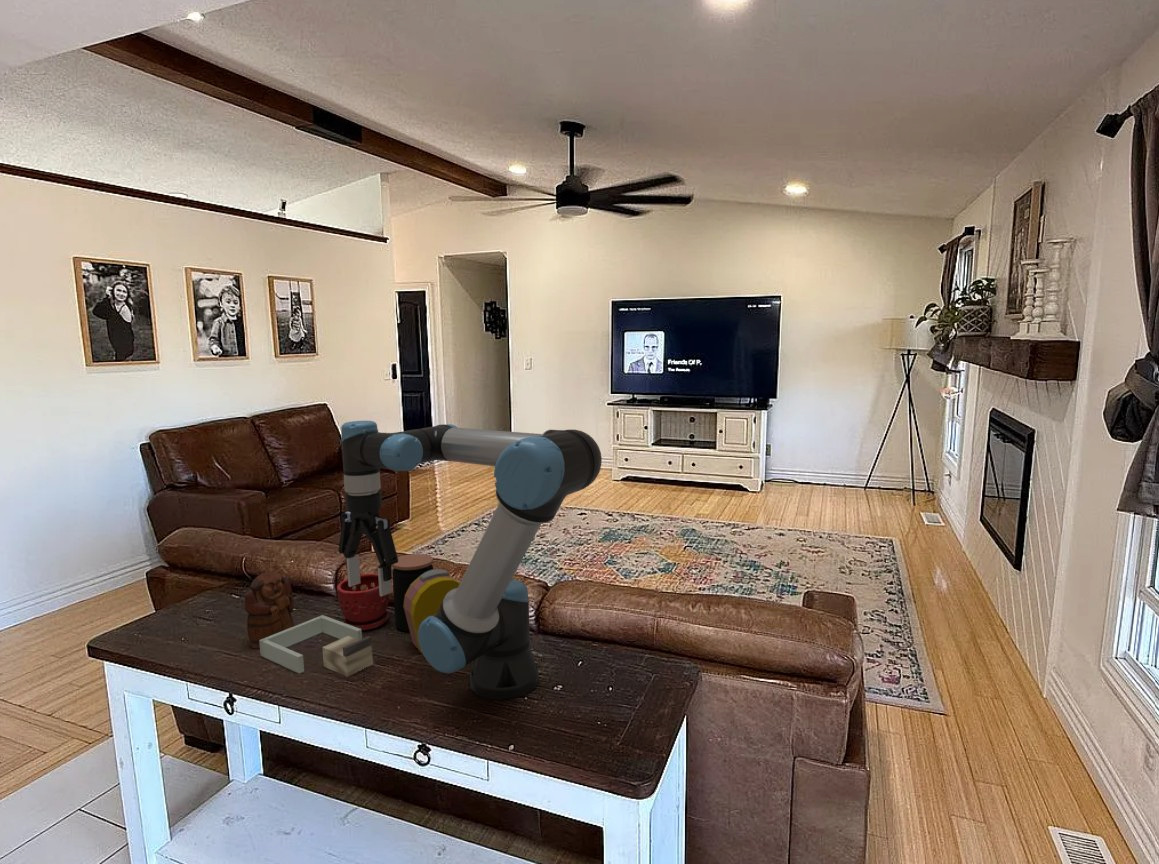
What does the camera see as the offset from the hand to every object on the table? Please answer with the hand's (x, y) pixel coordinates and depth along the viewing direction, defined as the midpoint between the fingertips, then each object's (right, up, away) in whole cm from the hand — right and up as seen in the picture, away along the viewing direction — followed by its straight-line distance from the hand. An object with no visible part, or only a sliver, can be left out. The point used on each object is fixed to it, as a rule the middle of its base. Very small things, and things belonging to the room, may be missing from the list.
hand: (369, 589), depth 147 cm
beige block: (-8, -20, +8) cm, 23 cm away
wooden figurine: (-32, -19, +22) cm, 43 cm away
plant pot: (-11, -17, +31) cm, 37 cm away
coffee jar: (+3, -17, +30) cm, 35 cm away
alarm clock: (+11, -18, +20) cm, 29 cm away
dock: (-19, -19, +16) cm, 31 cm away
